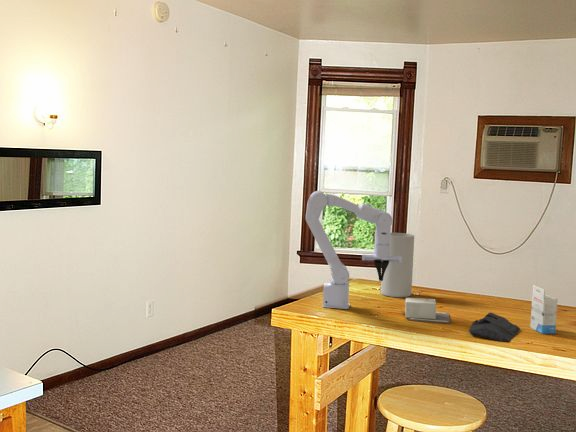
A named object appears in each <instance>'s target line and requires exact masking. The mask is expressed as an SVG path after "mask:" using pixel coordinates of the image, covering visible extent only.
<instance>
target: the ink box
mask: <svg viewBox="0 0 576 432" xmlns="http://www.w3.org/2000/svg"><path fill="white" fill-rule="evenodd" d="M531 295H532V296H531V310H530V311H531V312H530V326H529V327H530V328H531V329H532V330H534V331H536V332H538V333H539V334H542V335H545V334H546V335H553V334H554V335H555V334H556V331H557V314H558V313H557V311H558V302H559V301H558V300H559V299H558V298H556V297H553V296H551V295H548V294H546V289H544V288H542V287H539V286H537V285H535V284H533V285H532V294H531Z"/></svg>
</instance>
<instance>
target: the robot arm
mask: <svg viewBox="0 0 576 432" xmlns="http://www.w3.org/2000/svg"><path fill="white" fill-rule="evenodd" d="M326 206H327V207H328V208H329V207H334V206H335V207H338V208H342V209H344V210H347V211H348V212H349V211H350V212H352V213H354V214H355V215H356V218H357V219H360V220H363V221H365V222H368V223H370V224H372V225H373V224H375V231H374V232H375V233H374V254H362V255H361V261H372V262H373V264H374V266H375V268H376V270H377V271H376V272H377V275H378V281H379V282H381V281H383V277H384V273H385V270H386V268H387V266H388V264H389V262H400V263H401V262H402V257H399V256H390V240H391V233H392V232H391V229H392V227H391V226H392V225H393V223H394V220H393V217H392V216H391V214H390V213H389V212H386V211H385V210H383V209H382V208H376V207H373V206H372V205H371V204H370V203H368V202H365V203H360V204H356V203H354V202H353V201H350V200H347V199H345V198H343V197H339V196H338V195H337V194H332V193H328V192H325V193H324V192H323V191H320V190H316V191H313V192H312V193H311V194H310V195H309V198H308V200H307V204H306V212H305V222H306V224H307V225H308V227H309V229H310V231H311V234H312V235H313V237H314V239H315V241H316V243H317V245H318V247H319V249H320V251H321V253H322V255H323V256H324V259H325V261H326V263H327V264H328V267H329V268H330V275H331V279H329V281H327V282H324V283H323V292H322V293H323V294H322V295H323V296H322V308H328V309H340V310H341V309H342V310H349V308H350V307H351V303H350V302H349V295H350V293H349V291H350V281H349V279H350V272H349V271H348V268H347V267H346V265H345V264H344V263H343V262H341V259H340V258H339V256H338V254H337V252H336V250H335V249H334V247H333V246H334V245H333V244H332V243H331V241H330V239H329V236H328V235H327V233H326V231H325V229H324V226H323V225H322V224H321V222H320V218H321V217H320V216H321V214H322V211H323V210H324V209H325V208H326ZM382 259H387V260H382Z"/></svg>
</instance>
